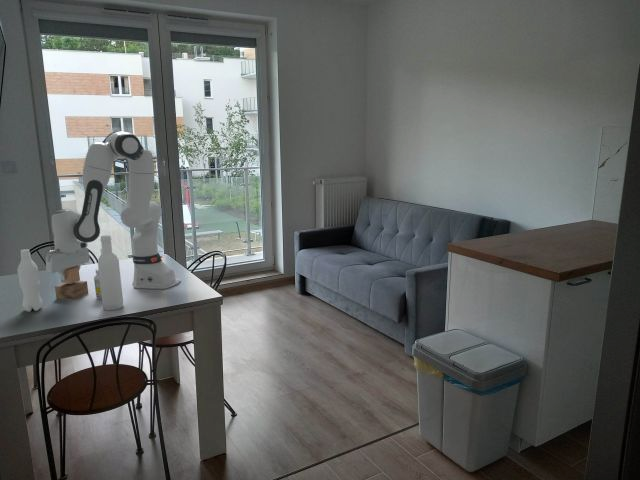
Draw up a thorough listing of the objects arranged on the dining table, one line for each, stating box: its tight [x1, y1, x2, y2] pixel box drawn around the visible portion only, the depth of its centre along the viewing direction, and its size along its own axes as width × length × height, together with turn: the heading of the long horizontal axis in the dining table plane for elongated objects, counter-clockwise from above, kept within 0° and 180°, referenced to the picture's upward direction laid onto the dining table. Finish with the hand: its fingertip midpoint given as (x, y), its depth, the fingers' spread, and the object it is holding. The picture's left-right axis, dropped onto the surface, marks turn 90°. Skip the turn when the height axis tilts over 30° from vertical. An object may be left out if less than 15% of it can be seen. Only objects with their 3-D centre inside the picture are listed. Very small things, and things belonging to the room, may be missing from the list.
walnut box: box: [54, 280, 89, 301], centre depth 211 cm, size 9×9×6 cm
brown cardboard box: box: [60, 267, 81, 284], centre depth 209 cm, size 6×6×6 cm
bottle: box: [97, 234, 124, 311], centre depth 194 cm, size 8×8×30 cm
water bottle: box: [16, 249, 44, 313], centre depth 193 cm, size 7×7×25 cm
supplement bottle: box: [93, 268, 102, 300], centre depth 208 cm, size 7×7×13 cm
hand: (70, 277), depth 210 cm, fingers closed on brown cardboard box, 5 cm apart
